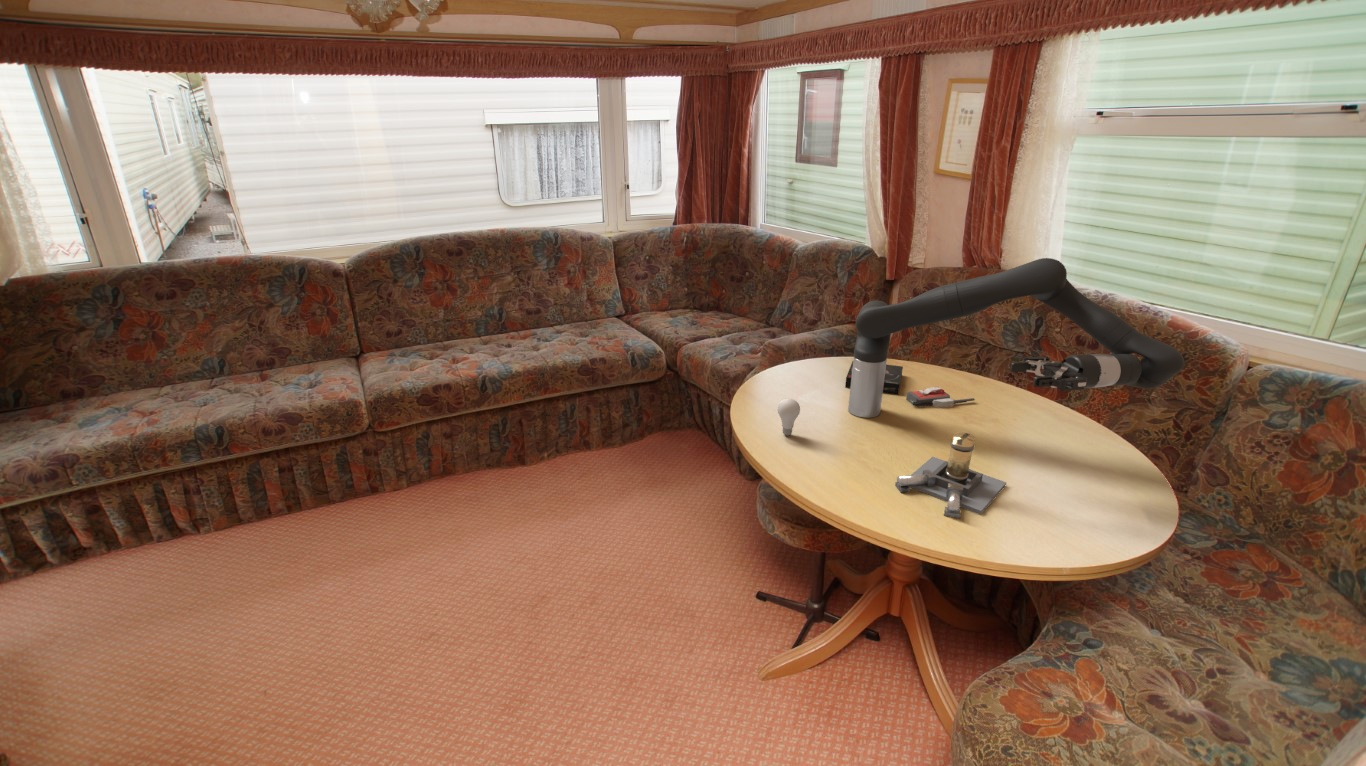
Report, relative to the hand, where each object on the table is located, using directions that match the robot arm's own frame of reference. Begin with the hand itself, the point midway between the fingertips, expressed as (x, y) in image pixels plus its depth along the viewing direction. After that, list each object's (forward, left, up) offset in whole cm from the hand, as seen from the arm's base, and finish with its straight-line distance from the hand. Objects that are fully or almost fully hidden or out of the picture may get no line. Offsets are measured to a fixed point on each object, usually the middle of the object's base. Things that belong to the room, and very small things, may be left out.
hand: (1022, 374), depth 140 cm
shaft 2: (+18, -4, -28) cm, 33 cm away
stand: (+9, -7, -28) cm, 30 cm away
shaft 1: (+16, -14, -28) cm, 35 cm away
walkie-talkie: (-35, -30, -29) cm, 54 cm away
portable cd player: (-36, -52, -29) cm, 70 cm away
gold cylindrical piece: (+8, -7, -27) cm, 29 cm away
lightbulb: (+15, -51, -28) cm, 60 cm away
